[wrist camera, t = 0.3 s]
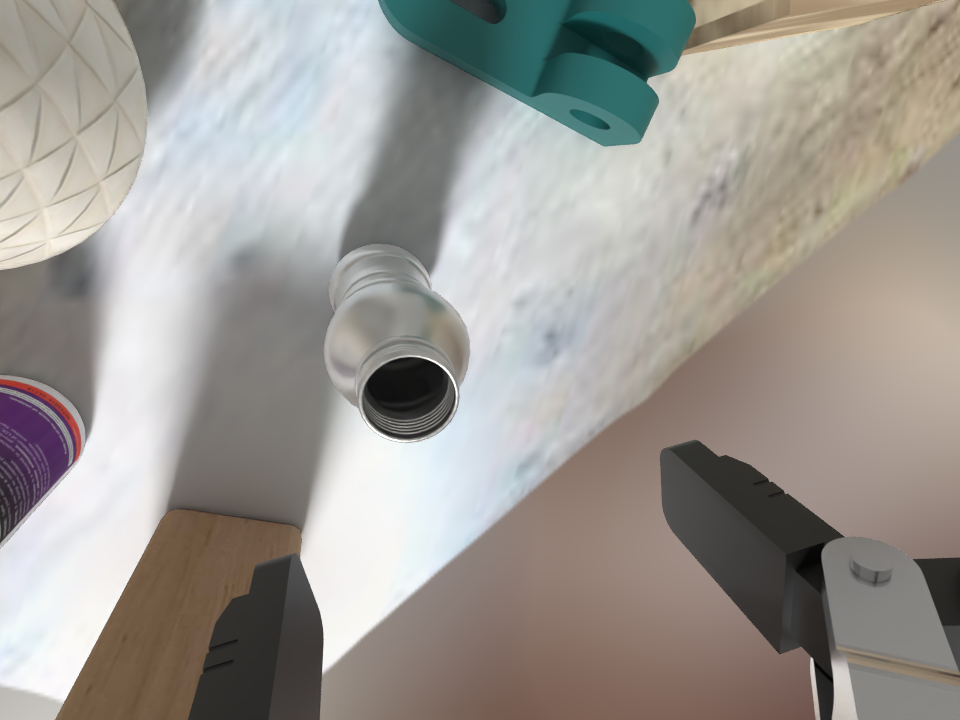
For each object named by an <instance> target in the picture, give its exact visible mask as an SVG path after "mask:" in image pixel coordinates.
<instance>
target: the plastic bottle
mask: <svg viewBox="0 0 960 720" xmlns="http://www.w3.org/2000/svg"><path fill="white" fill-rule="evenodd" d="M329 298H330V303H331V306H332V308H333V311H334V313H335V314H334V315H333V317H332V319H331V321H330V323H329V326H328V329H327V333H326V336H325V340H324V360H325V366H326V369H327V371H328V374H329V376H330V379H331V380H332V382H333V383H334V385H335V386H336V388H337V389H338V391H339V392H340V393H341V394H342V395H343V396H344V397H345V398H346V399H347V400H348V401H349V402H350V403H351V404H353V405H354V406H356V407H357V408H359V411H360V413H361V416H362V418H363V420H364V421H365V423H366V424H367V425H368V426H369V427H370V428H371V429H372V430H373V431H374V432H375V433H377V434H378V435H380V436H381V437H383V438H386V439H388V440H391V441H396V442H405V443H411V442H418V441H422V440H425V439H428V438H430V437H432V436H434V435H436V434H438V433H439V432H440V431H442V430H443V429H444V428H445V427H446V426H447V425H448V424H449V423H450V422H451V420H452V419H453V417H454V415H455V413H456V411H457V408H458V404H459V387H460V385H461V384H462V382H463V380H464V377H465V375H466V372H467V369H468V363H469V357H470V340H469V336H468V332H467V329H466V326H465V324H464V322H463V320H462V318H461V316H460V315H459V313H458V312H457V311H456V310H455V309H454V307H453V306H452V305H451V304H450V303H449V302H448V301H446V300H445V299H444V298H443V297H441V296H440V295H439V294H438V293H436V292H434V291H433V290H432V284H431V281H430V278H429V275H428V273H427V271H426V269H425V267H424V266H423V265H422V264H421V262H420V261H419V260H418V259H417V258H416V257H415V256H413V255H412V254H411V253H409V252H408V251H406V250H404V249H402V248H400V247H397V246H394V245H389V244H381V243H380V244H369V245H365V246H361V247H359V248H357V249H355V250H353V251H351V252H349V253H348V254H347V255H346V256H344V257H343V258H342V259H341V260H340V262H339V263H338V264H337V265H336V267H335V269H334V271H333V273H332V275H331V279H330V282H329Z"/></svg>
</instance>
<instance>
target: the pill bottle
mask: <svg viewBox="0 0 960 720" xmlns="http://www.w3.org/2000/svg"><path fill="white" fill-rule="evenodd" d="M84 446H85V428H84V424H83V421H82V419H81V416H80V415H79V413H78V411H77V410H76V408H75V407H74V405H73V404H72V403H71V402H70V401H69V400H68V399H67V398H66V397H64V396H63V395H62V394H61V393H59V392H58V391H56V390H55V389H53V388H51V387H49V386H47V385H45V384H43V383H40V382H38V381H35V380H31V379H27V378H23V377H18V376H9V375H0V549H1V548H2V546H3V545H4V544H5V543H6V542H7V541H8V540H9V539H10V538H11V536H12V535H13V534H14V533H15V532H16V531H17V530H18V529H19V527H20V526H21V525H22V524H23V523H24V522H25V521H26V520H27V518H28V517H29V516H30V515H31V514H32V513H33V512H34V511H35V510H36V509H37V507H38V506H39V505H40V504H41V503H42V502H43V501H44V500H45V499H46V497H47V496H48V495H49V494H50V493H51V492H52V491H53V490H54V489H55V488H56V487H57V485H58V484H59V483H60V482H61V481H62V480H63V479H64V478H65V477H66V476H67V475H68V473H69V472H70V471H71V470H72V469H73V467H74V466H75V465H76V464H77V462H78V461H79V459H80V457H81V455H82V453H83V450H84Z"/></svg>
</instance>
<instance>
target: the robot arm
mask: <svg viewBox="0 0 960 720" xmlns="http://www.w3.org/2000/svg"><path fill="white" fill-rule="evenodd" d="M660 465H661V487H662V506H663V512H664V515H665V518H666V520H667V523H668V525H669V526H670V528H671V530H672V531H673V533H674V534H675V535H676V536H677V537H678V538H679V540H680V541H681V542H682V543H683V544H684V545H685V547H686V548H687V549H688V550H689V551H690V552H691V553H692V555H694V557H695V558H696V559H697V560H698V561H699V562H700V564H701V565H702V566H703V567H704V568H705V569H706V571H707V572H708V573H709V574H710V575H711V576H712V577H713V578H714V580H715V581H716V582H717V583H718V584H719V585H720V587H721V588H722V589H723V590H724V591H725V592H726V594H727V595H728V596H729V597H730V598H731V599H732V600H733V602H734V603H735V604H736V605H737V606H738V607H739V608H740V610H741V611H742V612H743V613H744V614H745V615H746V616H747V618H748V619H749V620H750V621H751V622H752V623H753V625H755V627H756V628H757V629H758V630H759V631H760V633H761V634H762V635H763V636H764V637H765V638H766V639H767V641H768V642H769V643H770V644H771V645H772V646H773V647H774V649H775V650H776V651H777V652H778V653H779V654H782V653H785V652H787V651H790V650H793V649H796V648H799V647H802V648H803V649H804V650H805V651H806V652H807V653H808V654H809V655H810V656H811V662H810V672H811V681H812V690H813V699H814V707H815V716H816V720H960V558H938V559H937V558H936V559H911V558H910V557H909V556H908V555H906V554H905V553H904V552H902V551H900V550H898V549H897V548H895V547H893V546H890V545H888V544H886V543H883V542H880V541H877V540H873V539H868V538H863V537H844V536H843V535H841V534H840V533H839V532H838V531H836V530H835V529H834V528H832V527H831V526H829V525H828V524H827V523H826V522H824V521H823V520H822V519H820V518H819V517H818V516H817V515H815V514H814V513H812V512H811V511H810V510H809V509H807V508H806V507H805V506H803V505H802V504H801V503H799V502H798V501H797V500H795V499H794V498H793V497H791V496H790V495H789V494H785V493H784V490H782V489H781V488H779V487H778V486H777V485H776V484H774V483H773V482H769V480H768V478H767V477H765V476H764V475H763V474H761V473H760V472H759V471H757V470H756V469H755V468H753V467H752V466H751V465H749V464H747V463H744V462H742V461H739V460H737V459H734V458H732V457H729V456H727V455H724V456H721V457H718V456H717V455H716V454H714V453H713V452H712V451H711V450H710V449H708V448H707V447H706V446H705V445H703V444H702V443H701V442H699V441H697V440H692V441H688V442H685V443H682V444H678V445H674V446H671V447H667V448H664V449H663V450H662V451H661V454H660ZM208 649H209V653H207V654H206V657H205V661H204V664H203V668H202V670H203V674H201V675H200V678H199V682H198V685H197V689H196V692H195V696H194V700H193V703H192V707H191V710H190V714H189V717H188V720H320V701H321V700H320V699H321V681H322V661H323V626H322V620H321V615H320V611H319V608H318V605H317V603H316V600H315V597H314V595H313V592H312V590H311V587H310V584H309V582H308V579H307V576H306V574H305V571H304V568H303V566H302V563H301V561H300V558H299V557H298V555H297V554H296V553H293V554H289V555H286V556H282V557H279V558H275V559H272V560H268V561H265V562H261V563H258V564H257V565H256V566H255V569H254V572H253V577H252V581H251V586H250V590H249V594H246V595H242V596H239V597H236V598H232V600H231V601H230V603H229V604H228V606H227V607H226V608H225V610H224V611H223V613H222V614H221V616H220V617H219V618H218V620H217V621H216V623H215V626H214V629H213V633H212V636H211V640H210V643H209V647H208Z"/></svg>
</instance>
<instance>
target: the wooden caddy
mask: <svg viewBox="0 0 960 720" xmlns="http://www.w3.org/2000/svg"><path fill="white" fill-rule="evenodd" d="M687 1H688V2H689V4H690V5H691V7H692V8H693V10H694V12H695V16H696V24H695V27H694V29H693V31H692V33H691V35H690V37H689V40H688V42H687V44H686V46H685V48H684V50H683V52H682V55H686V54H692V53H698V52H703V51H709V50H715V49H720V48H726V47H732V46H738V45H743V44H749V43H755V42H760V41H766V40H772V39H777V38H783V37H789V36H794V35H800V34H806V33H812V32H817V31H823V30H829V29H834V28H840V27H846V26H851V25H857V24H861V23H865V22H868V21H872V20H876V19H879V18H883V17H887V16H890V15H894V14H897V13H901V12H905V11H908V10H912V9H916V8H919V7H923V6H926V5H930V4H934V3H937V2H941V1H945V0H687Z"/></svg>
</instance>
